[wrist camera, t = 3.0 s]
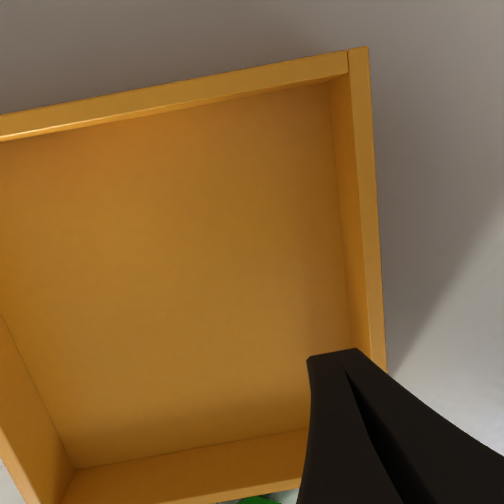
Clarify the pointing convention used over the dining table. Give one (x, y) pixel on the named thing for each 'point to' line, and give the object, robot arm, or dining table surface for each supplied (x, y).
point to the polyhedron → (257, 501)
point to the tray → (183, 280)
